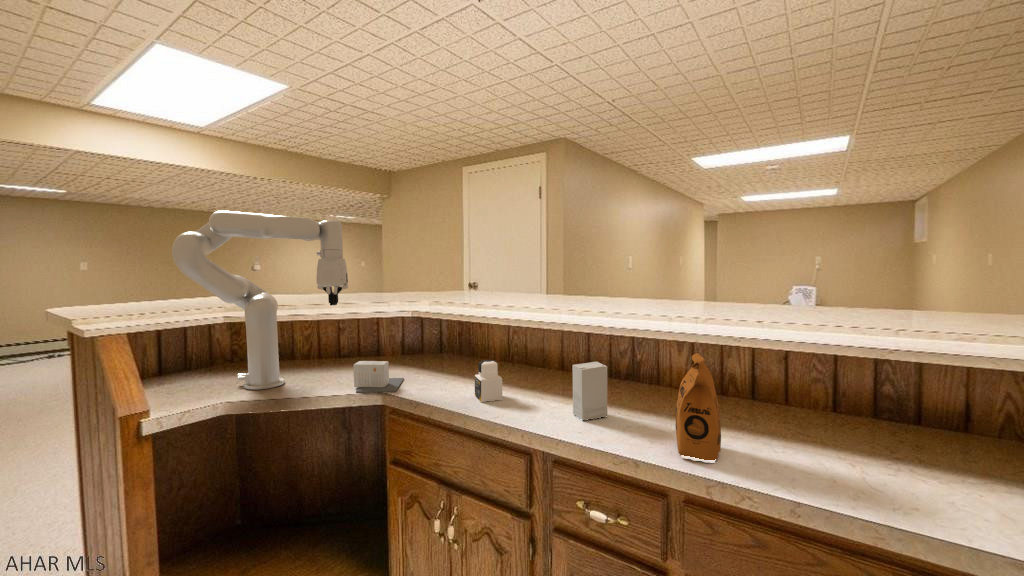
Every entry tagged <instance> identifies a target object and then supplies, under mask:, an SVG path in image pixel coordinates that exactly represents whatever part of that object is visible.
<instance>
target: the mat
mask: <svg viewBox="0 0 1024 576" xmlns="http://www.w3.org/2000/svg"><path fill="white" fill-rule="evenodd" d="M404 380H405V378H404V377H389V383H388V384H387V385H386V386H385V387H384V388H376V387H358V389H356V391H355V393H356V394H362V393H363V394H365V393H366V394H369V393H375V394H376V393H397V391H398V390H399V388H400V386H401V385H400V384H402V383H403V381H404ZM398 387H399V388H398Z"/></svg>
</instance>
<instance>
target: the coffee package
mask: <svg viewBox="0 0 1024 576" xmlns="http://www.w3.org/2000/svg"><path fill="white" fill-rule="evenodd" d="M691 360H692V362H693V364H692V365H691V366H690V369H689V370H688V371H687V372H686V374H685V375H684V377H683V378H682V380H681V382H680V385H679V391H678V395H677V399H676V400H677V401H676V406H675V407H676V408H675V415H674V416H675V436H676V445H677V451H678V455H679V454H680V455H684V456H690V457H695V458H699V459H704V460H715V459H717V460H718V458H719V453H720V452H721V449H722V447H721V446H722V445H721V444H722V429H721V427H722V426H721V425H722V424H721V414H720V406H719V400H718V396H717V391H716V387H715V382H714V378H713V376H712V373H711V371H710V369H709V368H708V367H707V365H706V364H705V361H706V359H705V358H704V357H703V356H701V354H700V353H699V352H695V353H694V354H692V356H691ZM680 455H679V456H680Z"/></svg>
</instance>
